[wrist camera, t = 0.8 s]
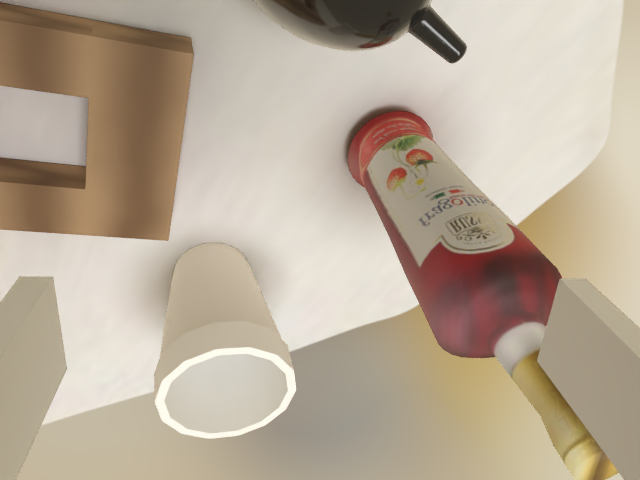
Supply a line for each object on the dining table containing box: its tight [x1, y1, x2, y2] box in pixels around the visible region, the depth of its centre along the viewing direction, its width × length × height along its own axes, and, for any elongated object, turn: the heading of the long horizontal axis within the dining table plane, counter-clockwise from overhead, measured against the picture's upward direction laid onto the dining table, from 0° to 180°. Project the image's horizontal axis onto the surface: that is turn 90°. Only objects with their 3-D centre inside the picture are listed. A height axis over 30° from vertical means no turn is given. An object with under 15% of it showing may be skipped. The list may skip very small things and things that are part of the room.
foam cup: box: [154, 243, 296, 439], centre depth 43 cm, size 10×9×13 cm
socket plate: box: [0, 3, 194, 241], centre depth 36 cm, size 18×14×3 cm
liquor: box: [348, 111, 619, 480], centre depth 34 cm, size 7×7×28 cm
